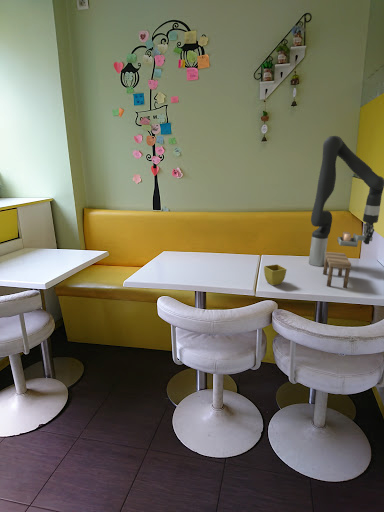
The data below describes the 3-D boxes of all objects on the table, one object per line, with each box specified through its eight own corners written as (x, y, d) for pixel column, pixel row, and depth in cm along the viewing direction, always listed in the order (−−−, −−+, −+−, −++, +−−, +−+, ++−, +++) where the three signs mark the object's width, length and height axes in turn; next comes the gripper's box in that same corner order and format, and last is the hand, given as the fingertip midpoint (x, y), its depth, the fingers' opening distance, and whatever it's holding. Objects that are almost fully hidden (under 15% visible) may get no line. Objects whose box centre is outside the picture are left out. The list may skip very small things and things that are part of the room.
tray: (337, 240, 203) (338, 231, 201) (368, 243, 199) (370, 233, 197) (340, 245, 194) (341, 235, 192) (372, 248, 190) (374, 237, 188)
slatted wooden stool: (322, 273, 197) (325, 251, 193) (341, 275, 195) (344, 253, 191) (326, 286, 179) (330, 262, 175) (347, 288, 177) (351, 264, 173)
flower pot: (262, 281, 185) (263, 265, 182) (276, 279, 188) (277, 264, 185) (271, 287, 177) (272, 271, 174) (285, 285, 180) (287, 269, 177)
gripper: (361, 210, 196) (356, 239, 202) (367, 215, 183) (361, 246, 189) (375, 211, 195) (370, 240, 200) (382, 216, 182) (376, 247, 187)
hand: (366, 243), depth 195 cm, fingers closed on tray, 2 cm apart
